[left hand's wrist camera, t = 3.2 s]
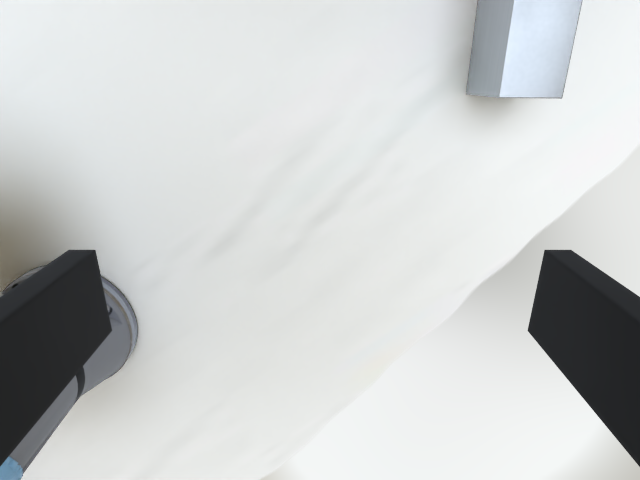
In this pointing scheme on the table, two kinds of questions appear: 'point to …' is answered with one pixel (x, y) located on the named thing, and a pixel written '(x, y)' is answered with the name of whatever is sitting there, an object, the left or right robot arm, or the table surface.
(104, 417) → the table surface
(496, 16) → the bar
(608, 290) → the left robot arm
